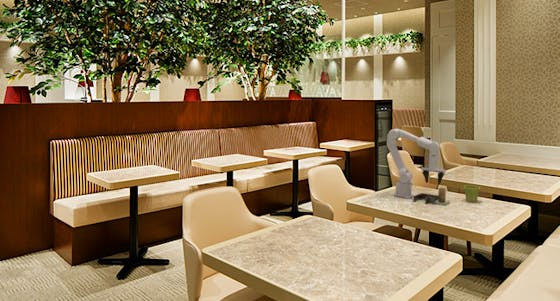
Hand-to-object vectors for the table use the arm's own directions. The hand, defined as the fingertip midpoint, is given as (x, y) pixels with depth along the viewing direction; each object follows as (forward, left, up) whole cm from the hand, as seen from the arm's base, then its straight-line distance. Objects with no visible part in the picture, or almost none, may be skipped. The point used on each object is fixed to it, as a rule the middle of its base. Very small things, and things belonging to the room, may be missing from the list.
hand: (433, 183), depth 265 cm
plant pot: (+20, +10, -10) cm, 25 cm away
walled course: (0, -8, -10) cm, 13 cm away
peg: (+9, -7, -9) cm, 14 cm away
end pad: (+9, -7, -10) cm, 15 cm away
